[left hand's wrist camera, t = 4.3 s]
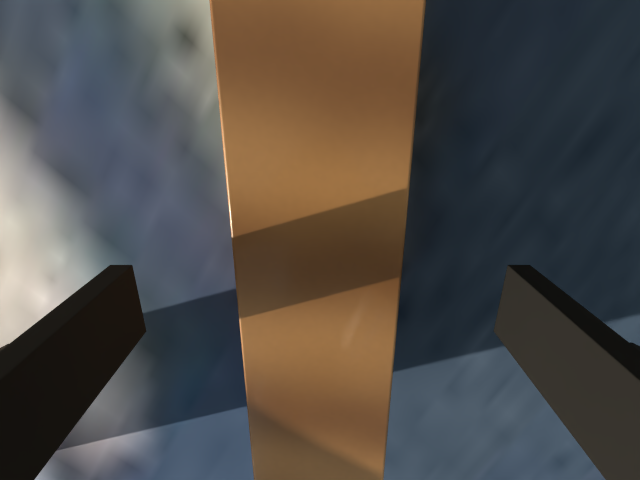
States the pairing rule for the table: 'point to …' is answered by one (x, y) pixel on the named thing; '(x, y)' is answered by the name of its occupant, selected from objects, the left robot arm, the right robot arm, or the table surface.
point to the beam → (318, 219)
